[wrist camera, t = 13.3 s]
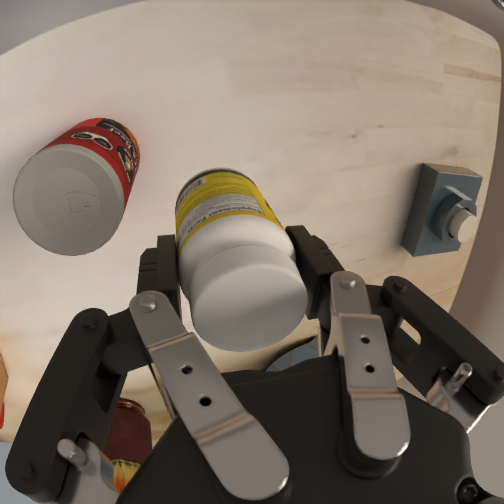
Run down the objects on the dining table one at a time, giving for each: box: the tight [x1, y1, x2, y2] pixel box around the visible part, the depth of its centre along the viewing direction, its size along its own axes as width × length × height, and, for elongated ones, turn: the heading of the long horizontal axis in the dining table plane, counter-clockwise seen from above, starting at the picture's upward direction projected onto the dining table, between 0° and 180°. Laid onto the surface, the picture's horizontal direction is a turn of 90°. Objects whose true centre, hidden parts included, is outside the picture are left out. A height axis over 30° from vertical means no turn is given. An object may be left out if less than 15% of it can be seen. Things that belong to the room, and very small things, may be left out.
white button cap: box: [448, 208, 478, 243], centre depth 33 cm, size 4×4×2 cm
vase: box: [103, 398, 152, 493], centre depth 38 cm, size 11×11×26 cm
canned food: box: [13, 118, 140, 256], centre depth 21 cm, size 8×8×11 cm
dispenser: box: [401, 163, 483, 257], centre depth 36 cm, size 12×10×5 cm
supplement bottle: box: [175, 168, 308, 352], centre depth 14 cm, size 5×5×8 cm
